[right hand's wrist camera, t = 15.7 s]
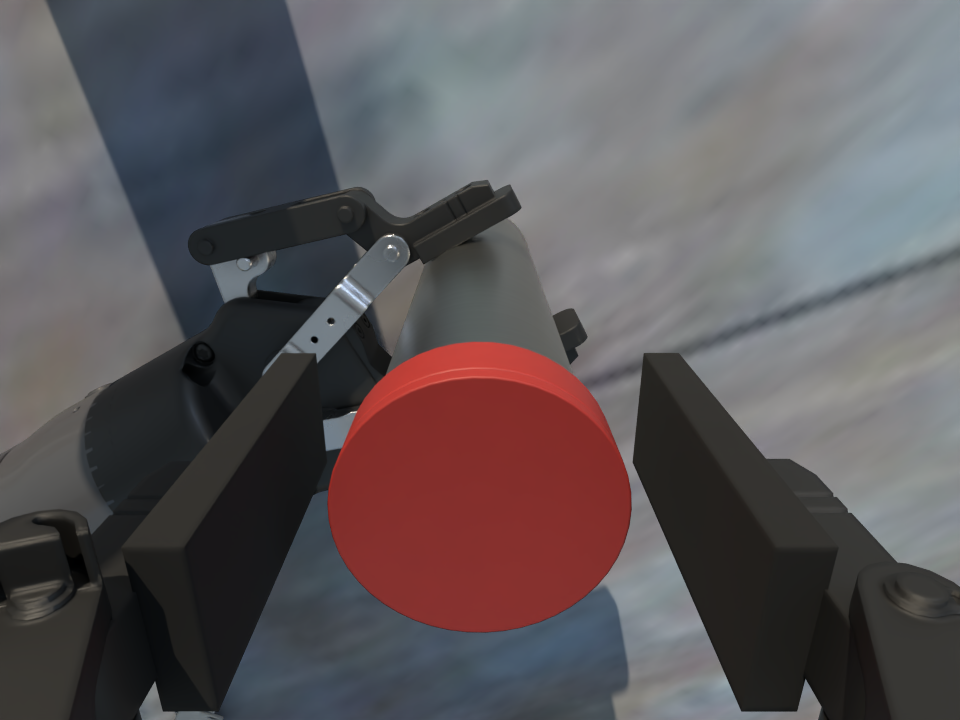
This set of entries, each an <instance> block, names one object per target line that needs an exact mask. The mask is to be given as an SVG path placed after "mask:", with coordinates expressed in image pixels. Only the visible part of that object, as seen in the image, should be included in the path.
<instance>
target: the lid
mask: <svg viewBox="0 0 960 720" xmlns="http://www.w3.org/2000/svg"><path fill="white" fill-rule="evenodd" d="M631 510H632V507H631V489H630V483H629V478H628V474H627V471H626V468H625V465H624V463H623V460H622V457H621V455H620V452H619V450H618V447H617V445H616V443H615V440H614V438H613V435H612V433H611V430H610V428H609V426H608V423H607V421H606V418H605V416H604V414H603V412H602V410H601V408H600V407H599V405H598V403H597V401H596V400H595V399H594V397H593V396H592V395H591V393H590V392H589V390H588V389H587V388H586V387H585V386H584V385H583V384H582V383H581V382H580V381H579V380H578V379H577V378H576V377H575V376H574V375H573V374H571V373H570V372H569V371H567V370H566V369H565V368H564V367H562V366H561V365H559V364H557V363H556V362H554V361H552V360H550V359H549V358H547V357H545V356H542V355H540V354H538V353H535V352H533V351H531V350H528V349H524V348H520V347H517V346H513V345H508V344H501V343H494V342H467V343H457V344H451V345H447V346H443V347H438V348H435V349H432V350H429V351H427V352H424V353H421V354H419V355H417V356H415V357H413V358H411V359H409V360H407V361H405V362H403V363H402V364H400V365H399V366H397V367H396V368H395V369H393V370H392V371H390V372H389V373H388V374H387V375H386V376H384V377H383V378H382V379H381V380H380V381H379V382H378V383H377V384H376V385H375V386H374V387H373V389H372V390H371V391H370V392H369V394H368V395H367V396H366V397H365V399H364V400H363V402H362V404H361V405H360V407H359V409H358V410H357V412H356V415H355V417H354V420H353V422H352V424H351V427H350V429H349V432H348V434H347V437H346V439H345V441H344V444H343V446H342V449H341V451H340V454H339V456H338V459H337V461H336V463H335V466H334V468H333V471H332V475H331V480H330V484H329V491H328V516H329V523H330V528H331V532H332V536H333V539H334V541H335V544H336V547H337V549H338V552H339V554H340V555H341V557H342V559H343V561H344V562H345V564H346V566H347V568H348V569H349V570H350V572H351V573H352V574H353V575H354V577H355V578H356V579H357V581H358V582H359V583H360V584H361V585H362V586H363V587H364V588H365V589H366V590H367V591H368V592H369V593H370V594H372V595H373V596H374V597H376V598H377V599H378V600H379V601H381V602H382V603H383V604H385V605H386V606H388V607H390V608H391V609H393V610H395V611H396V612H398V613H400V614H402V615H404V616H406V617H409V618H411V619H413V620H415V621H418V622H421V623H424V624H427V625H430V626H434V627H438V628H442V629H447V630H453V631H462V632H485V633H486V632H498V631H506V630H512V629H517V628H522V627H525V626H529V625H532V624H535V623H539V622H541V621H543V620H546V619H548V618H551V617H553V616H555V615H557V614H559V613H561V612H563V611H564V610H566V609H568V608H570V607H571V606H573V605H574V604H576V603H577V602H578V601H580V600H581V599H583V598H584V597H585V596H586V595H587V594H588V593H590V592H591V591H592V590H593V589H594V588H595V587H596V586H597V585H598V584H599V583H600V582H601V580H602V579H603V578H604V577H605V576H606V575H607V573H608V572H609V571H610V569H611V567H612V566H613V564H614V563H615V561H616V560H617V558H618V556H619V554H620V552H621V549H622V547H623V545H624V543H625V539H626V536H627V532H628V529H629V525H630V517H631Z"/></svg>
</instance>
